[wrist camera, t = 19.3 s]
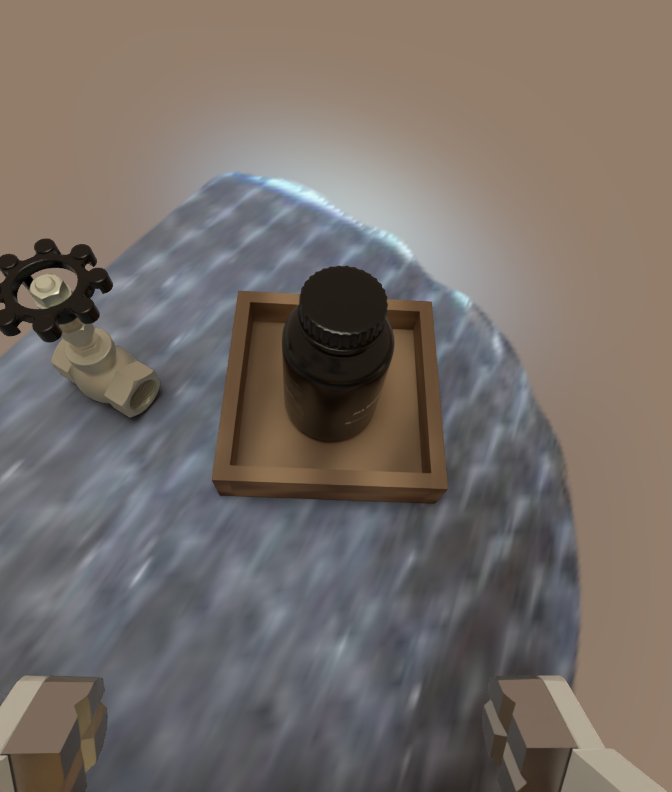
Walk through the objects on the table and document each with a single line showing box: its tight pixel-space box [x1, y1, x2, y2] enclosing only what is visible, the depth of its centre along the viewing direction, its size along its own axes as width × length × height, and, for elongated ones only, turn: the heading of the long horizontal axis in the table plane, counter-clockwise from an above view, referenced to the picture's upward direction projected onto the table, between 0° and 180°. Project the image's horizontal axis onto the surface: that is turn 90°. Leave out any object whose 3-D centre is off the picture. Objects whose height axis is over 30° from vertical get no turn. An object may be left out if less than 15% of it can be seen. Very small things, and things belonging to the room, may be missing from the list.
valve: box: [0, 239, 160, 418], centre depth 32 cm, size 7×7×12 cm
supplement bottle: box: [282, 266, 395, 441], centre depth 31 cm, size 7×7×12 cm
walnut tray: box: [212, 291, 448, 503], centre depth 36 cm, size 15×15×4 cm
